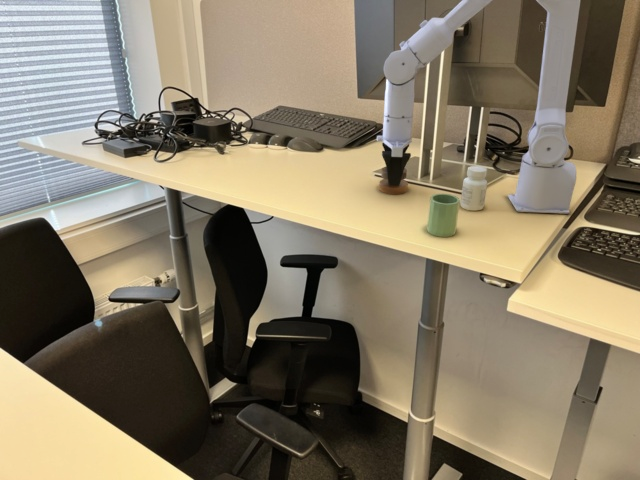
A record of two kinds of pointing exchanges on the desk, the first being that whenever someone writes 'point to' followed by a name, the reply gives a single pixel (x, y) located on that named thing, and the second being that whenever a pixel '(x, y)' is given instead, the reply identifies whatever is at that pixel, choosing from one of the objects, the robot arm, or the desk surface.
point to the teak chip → (393, 187)
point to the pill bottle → (474, 189)
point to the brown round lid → (385, 176)
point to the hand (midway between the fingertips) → (393, 180)
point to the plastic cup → (443, 215)
